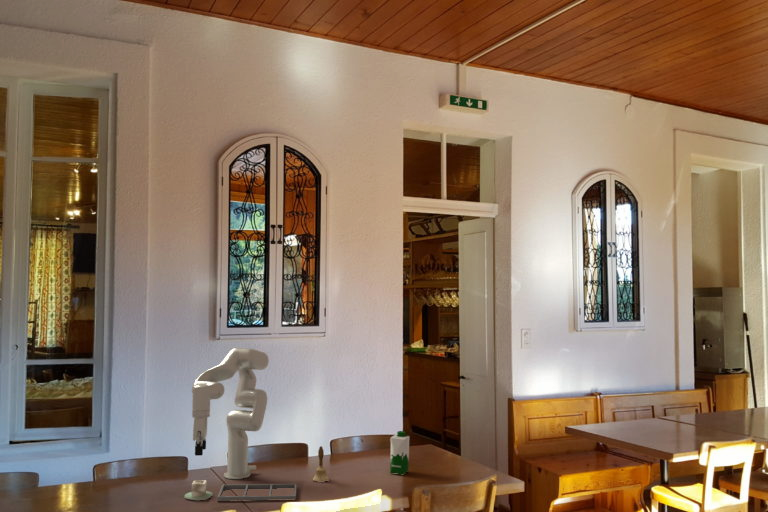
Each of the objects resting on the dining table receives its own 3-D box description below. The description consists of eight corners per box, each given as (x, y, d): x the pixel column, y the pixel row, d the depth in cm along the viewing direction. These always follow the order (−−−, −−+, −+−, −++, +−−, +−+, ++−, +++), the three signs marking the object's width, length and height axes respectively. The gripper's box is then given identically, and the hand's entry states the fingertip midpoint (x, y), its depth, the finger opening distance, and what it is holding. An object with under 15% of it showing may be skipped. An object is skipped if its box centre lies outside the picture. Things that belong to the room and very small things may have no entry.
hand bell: (316, 483, 328) (316, 449, 328) (309, 478, 335) (310, 445, 335) (332, 481, 331) (333, 447, 332) (325, 476, 339) (326, 443, 339)
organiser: (296, 489, 318) (296, 483, 318) (295, 501, 301) (295, 495, 301) (222, 490, 314) (222, 484, 314) (217, 503, 297) (217, 497, 297)
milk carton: (410, 471, 350) (411, 431, 351) (404, 476, 342) (405, 435, 342) (394, 469, 354) (395, 430, 354) (387, 474, 345) (388, 433, 346)
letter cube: (206, 492, 308) (206, 480, 308) (204, 496, 302) (204, 483, 302) (193, 493, 307) (193, 480, 307) (191, 496, 302) (191, 483, 302)
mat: (204, 490, 313) (205, 489, 313) (217, 497, 304) (217, 495, 304) (179, 495, 305) (179, 494, 305) (192, 503, 296) (192, 501, 296)
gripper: (195, 409, 314) (194, 447, 314) (189, 417, 297) (188, 457, 297) (212, 409, 315) (211, 447, 315) (207, 417, 298) (206, 457, 297)
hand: (200, 452), depth 306 cm, fingers open, 9 cm apart
